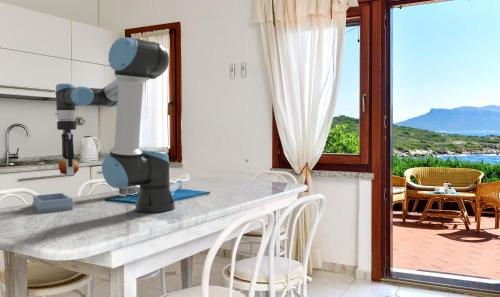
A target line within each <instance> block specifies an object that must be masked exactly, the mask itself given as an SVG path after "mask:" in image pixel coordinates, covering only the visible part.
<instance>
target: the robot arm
mask: <svg viewBox="0 0 500 297" xmlns="http://www.w3.org/2000/svg"><path fill="white" fill-rule="evenodd" d="M108 63H109V66H110V68H111V69H112V70H114V76H115V79H114V80H112V81H111V82H110V83H109V84H107V85H105V86H104V87H103V88H96V87H94V88H93V87H88V86H77V87H75V85H74V83H58V84H56V86H55V102H56V103H55V106H56V107H55V108H56V112H55V113H54V114H55V116H56V119H57V120H58V121H57V122H56V128H57V130H58V131H62V133H61V135H60V136H61V156H62V159H66V167H67V176H69V175H70V176H71V175H75V174H74V163H73V160H74V159H75V151H74V149H75V148H74V134H73V133H72V130H73V131H75V130H76V129H77V121H76V120H77V112H76V110H77V109H76V107H77V106H78V107H80V106H81V107H83V106H84V107H109V108H112V107H116V116H115V117H116V120H115V136H114V146H113V147H112V148H110V150H109V155H108V156H107V157H104V159H103V161H102V163H101V172H102V176H103V178H104V180H105V182H106V183H107V185H109V186H110V187H112V188H114V189H119V188H126V187H130V186H136V187H137V186H139V192H138V194H137V195H138V196H137V200H136V203H135V211H136V212H138V213H139V212H140V213H162V212H168V211H169V212H170V211H172V210H174V209H175V208H176V206H175V200H174V197H173V194H172V192H171V188H170V185H171V184H170V160H169V157H170V156H169V154H168V153H167V152H164V151H152V150H141V149H140V148H139V146H140V133H141V122H142V121H141V120H142V108H143V107H142V106H143V105H142V104H143V91H144V83H146V82H148V81H149V80H155V79H157V78H158V77H160V76H162V75H163V74H164V73H165V72H166V71H167V69H168V67H169V64H170V56H169V54H168V51H167V49H166V48H165V47H164V46H163V45H162V44H160V43H159V42H156V41H151V40H144V39H140V38H139V39H138V38H134V37H125V36H124V37H119V38H118V39H116V40H115V41H114V43H112V44H111V46H110V49H109V52H108Z"/></svg>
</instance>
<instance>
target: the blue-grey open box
mask: <svg viewBox="0 0 500 297" xmlns="http://www.w3.org/2000/svg"><path fill="white" fill-rule="evenodd" d="M32 198H33V199H32V200H33V201H32V206H33V207H34V208H35V209H36V211H38V213H39V214H45V212H46V213H53V212H54V211H55V212H63V211H70V210H72V211H73V208H74V206H73V198H72V197H71V196H70V195H68V194H66V193H64V192H58V193H57V192H56V193H46V194H36V195H32ZM62 210H63V211H62Z"/></svg>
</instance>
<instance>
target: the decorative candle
mask: <svg viewBox="0 0 500 297" xmlns="http://www.w3.org/2000/svg"><path fill="white" fill-rule="evenodd" d="M118 190H119V191H118V194H119V195H118V196H120V197H127V196H126V195H134V194H137V195H138V193H137V192H138V190H137V189H136V190H137V191H136V190H135V188H134V187H133V186H130V187H126V188H118ZM134 196H135V195H134Z"/></svg>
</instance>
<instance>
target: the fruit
mask: <svg viewBox="0 0 500 297" xmlns="http://www.w3.org/2000/svg"><path fill="white" fill-rule="evenodd" d="M73 163H74V175H75V174H76V173H77V172H78V171H79V170H80V169H79V166H80V165H79V163H78V161H77V160H74V159H73ZM58 171H59V172H60V173H59V175H62V174H63V175H67V167H66V159H63V158H62V159H61V160H60V161H58ZM67 176H68V175H67Z"/></svg>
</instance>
